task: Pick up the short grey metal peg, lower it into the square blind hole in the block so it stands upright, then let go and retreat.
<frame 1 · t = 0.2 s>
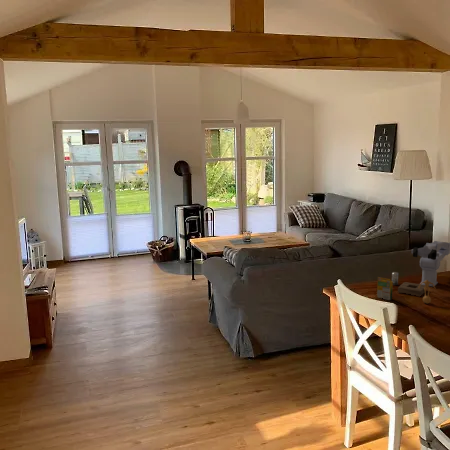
hand: (421, 255, 255), 21 cm above the table, tool horizontal, fingers open, 7 cm apart
hole block: (412, 291, 261), on the table
crayon box: (384, 298, 252), on the table
figurine: (426, 302, 244), on the table
metal peg: (394, 284, 275), on the table
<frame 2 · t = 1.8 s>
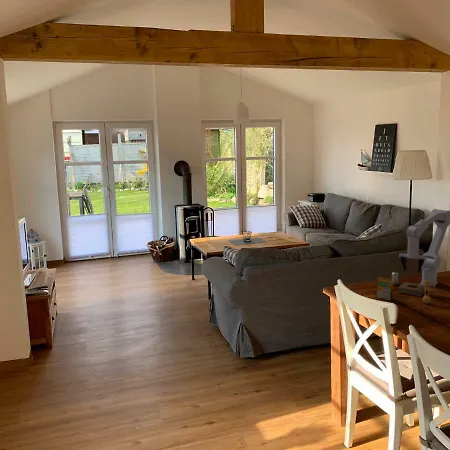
hand: (412, 271, 264), 10 cm above the table, tool pointing down, fingers open, 7 cm apart
nothing on the table moved.
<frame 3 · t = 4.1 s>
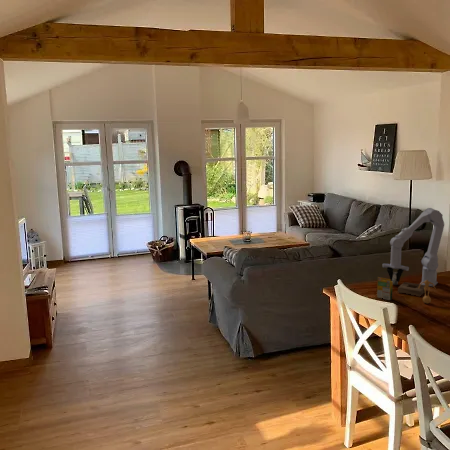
hand: (394, 280, 274), 2 cm above the table, tool pointing down, fingers closed on metal peg, 3 cm apart
metal peg: (394, 284, 275), on the table, touching gripper
everything else where it was.
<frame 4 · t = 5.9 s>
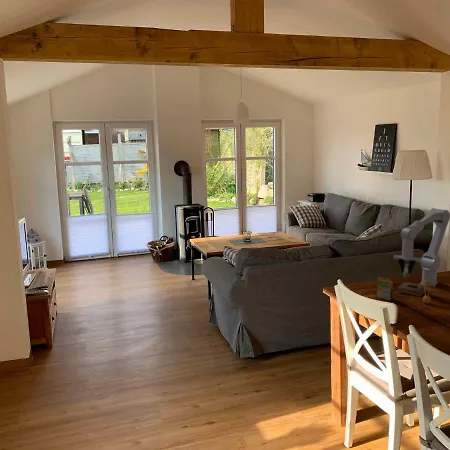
hand: (406, 272, 264), 9 cm above the table, tool pointing down, fingers closed on metal peg, 3 cm apart
metal peg: (406, 277, 265), point 7 cm above the table, touching gripper
everything else where it was.
when the fingers open (4 cm above the table, at t = 8.1 s): metal peg stays where it is, resting on hole block.
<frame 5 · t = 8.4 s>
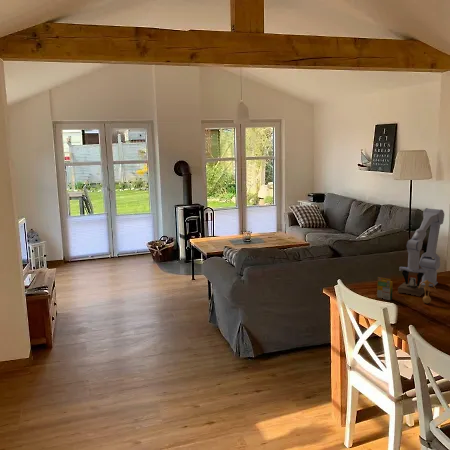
hand: (412, 284, 261), 4 cm above the table, tool pointing down, fingers open, 5 cm apart
metal peg: (412, 290, 261), point 1 cm above the table, touching hole block
everything else where it was.
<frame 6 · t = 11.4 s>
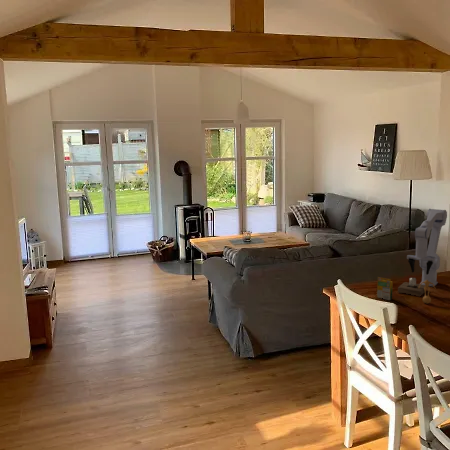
hand: (420, 273, 260), 10 cm above the table, tool pointing down, fingers open, 7 cm apart
nothing on the table moved.
at the end: metal peg 0.1 cm off-centre on the hole block, point 0.5 cm above the hole block's base; metal peg tilted 0°; the gripper is holding nothing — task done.
